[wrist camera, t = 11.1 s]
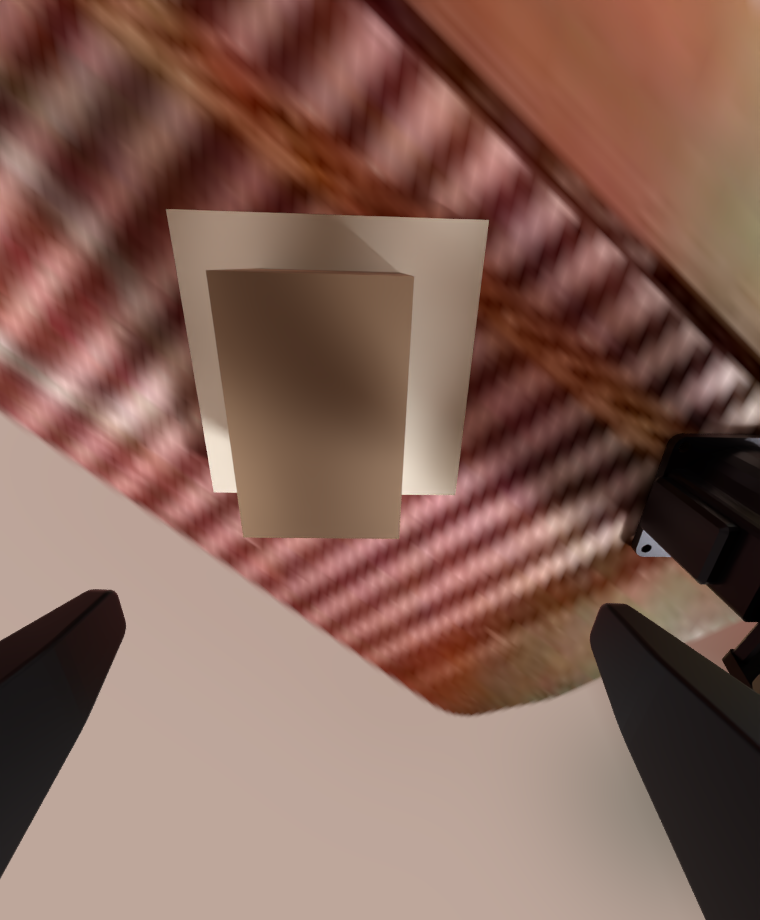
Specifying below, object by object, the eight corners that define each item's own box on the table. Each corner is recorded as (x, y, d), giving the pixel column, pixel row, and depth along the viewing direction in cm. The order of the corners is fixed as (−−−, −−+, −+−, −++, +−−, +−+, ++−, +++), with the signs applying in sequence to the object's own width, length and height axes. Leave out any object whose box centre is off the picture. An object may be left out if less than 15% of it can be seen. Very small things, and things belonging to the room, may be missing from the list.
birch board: (474, 225, 15) (488, 220, 13) (446, 473, 19) (455, 495, 17) (191, 215, 14) (165, 209, 13) (228, 470, 19) (213, 492, 17)
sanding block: (399, 272, 13) (414, 276, 9) (391, 463, 16) (398, 538, 12) (261, 268, 13) (205, 270, 9) (278, 462, 16) (243, 537, 12)
